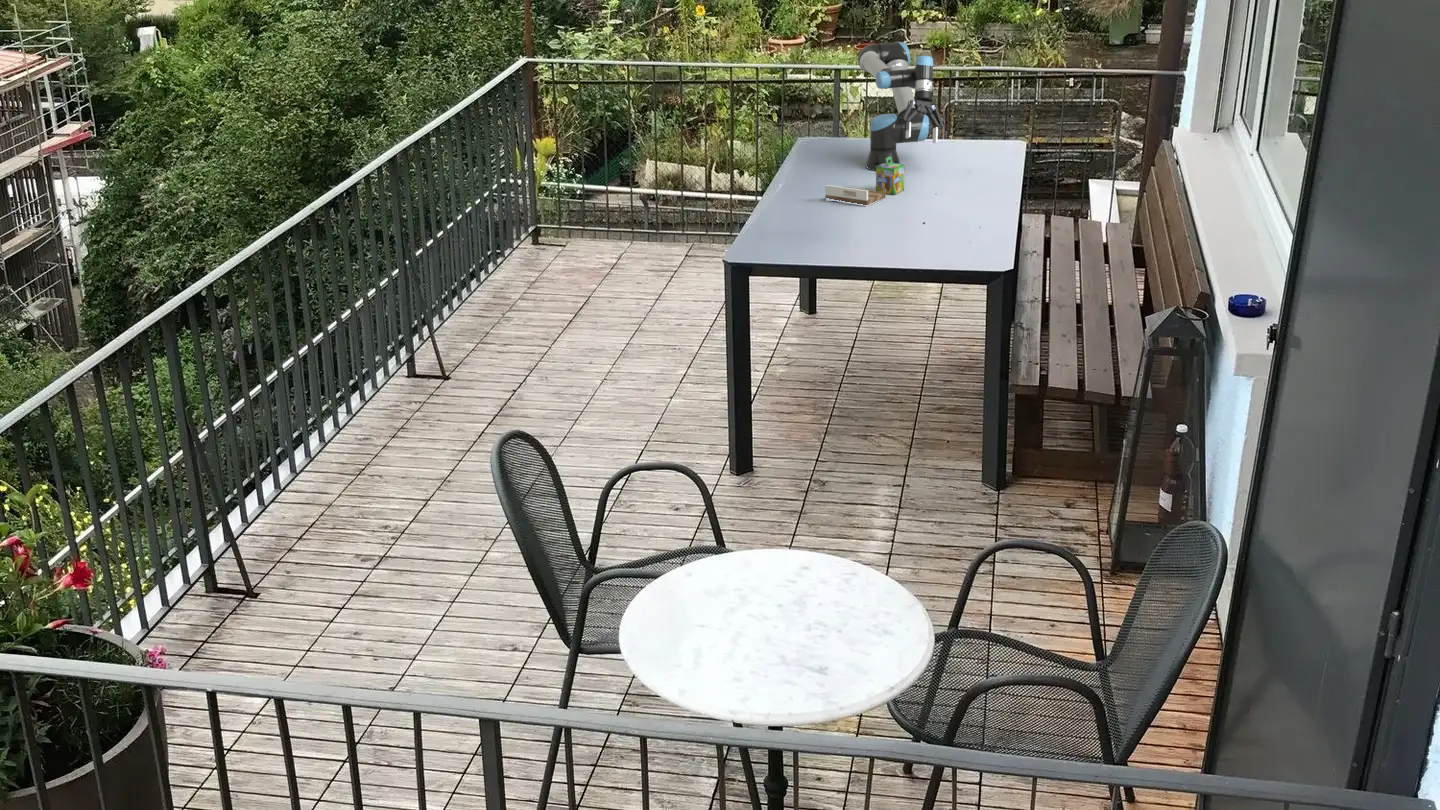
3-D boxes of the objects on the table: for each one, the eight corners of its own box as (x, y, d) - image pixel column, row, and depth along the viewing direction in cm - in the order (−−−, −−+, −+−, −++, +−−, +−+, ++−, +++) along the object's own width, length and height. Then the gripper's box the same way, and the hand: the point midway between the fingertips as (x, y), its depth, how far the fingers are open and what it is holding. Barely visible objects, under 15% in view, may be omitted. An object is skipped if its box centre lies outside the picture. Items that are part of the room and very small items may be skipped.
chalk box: (893, 195, 569) (894, 160, 563) (875, 193, 574) (875, 158, 568) (905, 190, 576) (905, 156, 570) (886, 188, 581) (886, 154, 575)
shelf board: (844, 192, 577) (844, 177, 574) (885, 198, 566) (885, 183, 563) (825, 200, 566) (825, 185, 563) (866, 206, 554) (866, 191, 552)
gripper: (903, 84, 576) (901, 133, 574) (952, 94, 586) (950, 142, 584) (894, 89, 582) (892, 137, 581) (942, 99, 592) (941, 146, 591)
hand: (921, 140), depth 582 cm, fingers open, 13 cm apart
